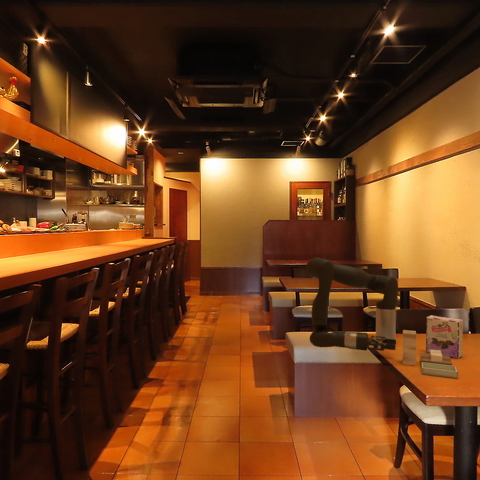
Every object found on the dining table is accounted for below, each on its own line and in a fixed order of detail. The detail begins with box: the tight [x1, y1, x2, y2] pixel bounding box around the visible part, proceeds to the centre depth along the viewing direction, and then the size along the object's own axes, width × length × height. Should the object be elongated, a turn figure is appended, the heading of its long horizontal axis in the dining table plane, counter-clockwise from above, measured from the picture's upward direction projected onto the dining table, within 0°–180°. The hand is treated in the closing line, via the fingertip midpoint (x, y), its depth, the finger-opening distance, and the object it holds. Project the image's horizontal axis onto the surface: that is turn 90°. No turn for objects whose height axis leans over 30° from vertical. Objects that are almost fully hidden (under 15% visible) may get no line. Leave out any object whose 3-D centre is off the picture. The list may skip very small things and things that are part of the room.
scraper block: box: [402, 329, 417, 366], centre depth 167 cm, size 5×5×13 cm
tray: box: [421, 362, 459, 379], centre depth 154 cm, size 8×12×2 cm, turn 68°
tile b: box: [430, 352, 442, 362], centre depth 160 cm, size 4×4×2 cm
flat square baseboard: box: [420, 352, 453, 369], centre depth 163 cm, size 11×11×3 cm
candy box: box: [425, 315, 464, 360], centre depth 179 cm, size 14×6×16 cm, turn 44°
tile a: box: [429, 349, 441, 357], centre depth 165 cm, size 4×4×2 cm
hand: (395, 344), depth 169 cm, fingers open, 8 cm apart
